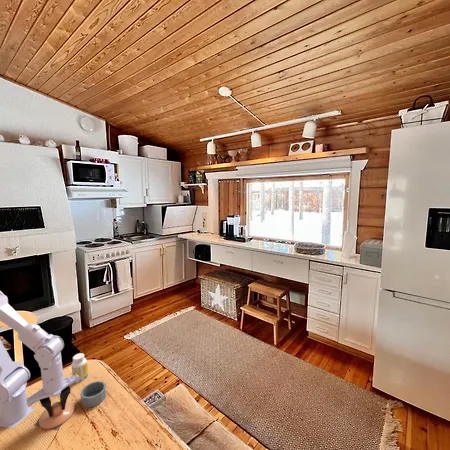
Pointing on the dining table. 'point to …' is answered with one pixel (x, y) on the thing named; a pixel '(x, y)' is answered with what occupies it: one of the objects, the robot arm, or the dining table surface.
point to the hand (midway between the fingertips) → (56, 411)
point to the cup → (93, 394)
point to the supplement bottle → (80, 366)
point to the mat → (58, 426)
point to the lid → (56, 415)
